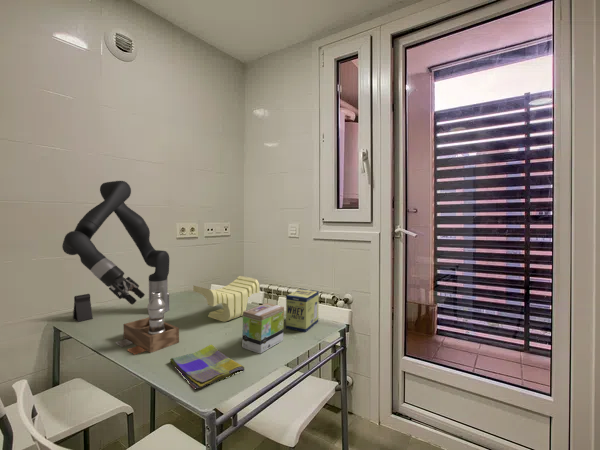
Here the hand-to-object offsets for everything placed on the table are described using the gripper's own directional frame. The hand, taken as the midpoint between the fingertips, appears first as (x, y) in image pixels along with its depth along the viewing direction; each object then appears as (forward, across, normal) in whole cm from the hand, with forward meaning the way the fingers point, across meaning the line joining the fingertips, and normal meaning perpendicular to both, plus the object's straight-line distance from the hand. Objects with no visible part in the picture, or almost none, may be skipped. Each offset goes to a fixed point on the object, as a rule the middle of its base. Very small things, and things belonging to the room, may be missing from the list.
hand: (139, 299), depth 119 cm
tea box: (+48, -6, -22) cm, 53 cm away
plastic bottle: (+17, 0, +8) cm, 19 cm away
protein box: (+62, +12, -36) cm, 72 cm away
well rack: (+14, +2, +12) cm, 18 cm away
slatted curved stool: (+36, +30, -10) cm, 48 cm away
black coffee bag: (-15, +36, +41) cm, 57 cm away
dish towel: (+34, -22, -8) cm, 42 cm away
